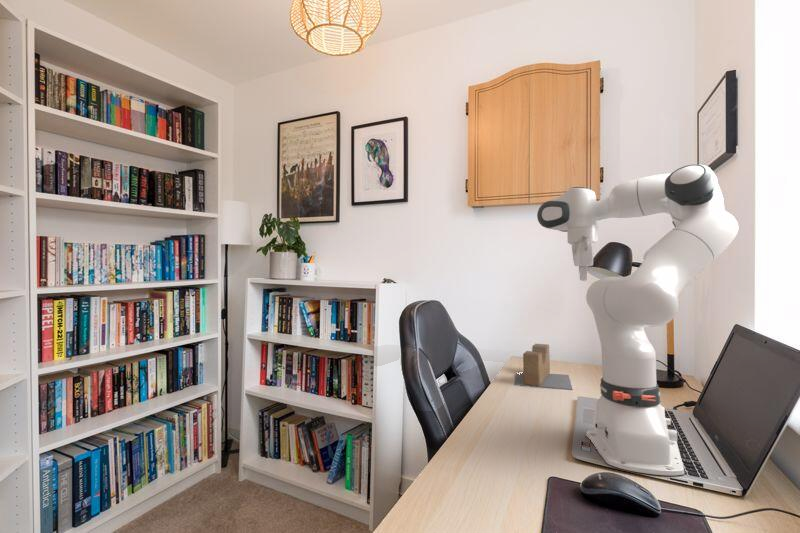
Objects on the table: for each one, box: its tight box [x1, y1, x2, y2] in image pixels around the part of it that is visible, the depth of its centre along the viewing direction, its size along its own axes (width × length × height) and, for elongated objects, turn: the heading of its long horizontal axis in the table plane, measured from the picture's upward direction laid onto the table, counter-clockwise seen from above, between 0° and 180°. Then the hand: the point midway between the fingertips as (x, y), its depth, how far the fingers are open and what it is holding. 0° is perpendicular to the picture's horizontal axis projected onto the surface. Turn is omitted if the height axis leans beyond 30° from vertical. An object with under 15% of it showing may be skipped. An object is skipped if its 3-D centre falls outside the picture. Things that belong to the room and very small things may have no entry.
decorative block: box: [522, 343, 551, 386], centre depth 144 cm, size 11×6×20 cm
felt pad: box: [513, 371, 573, 391], centre depth 143 cm, size 18×19×1 cm
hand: (583, 280), depth 125 cm, fingers closed
